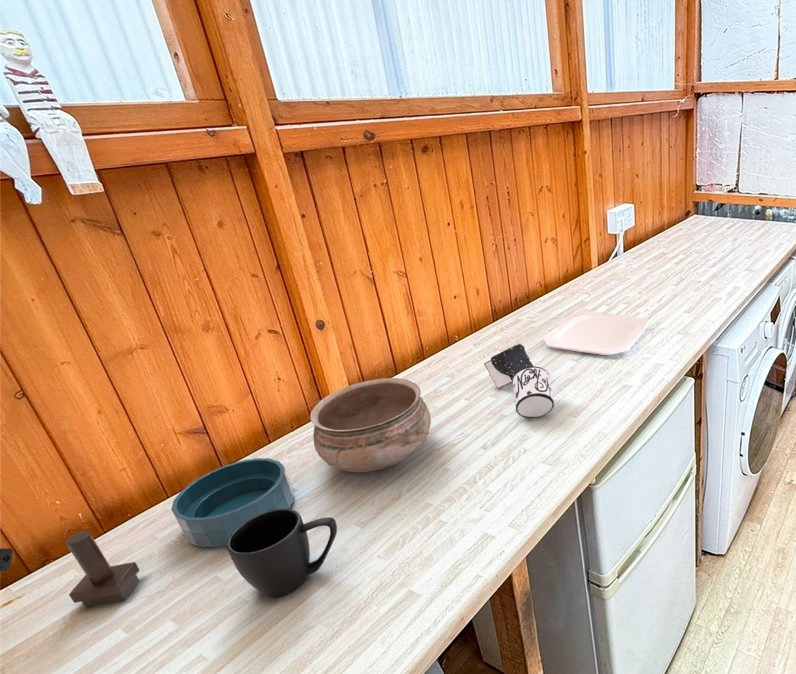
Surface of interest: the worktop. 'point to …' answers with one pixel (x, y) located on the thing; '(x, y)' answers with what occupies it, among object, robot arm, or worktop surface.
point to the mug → (276, 550)
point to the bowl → (230, 499)
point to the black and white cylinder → (522, 381)
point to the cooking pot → (370, 424)
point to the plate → (596, 333)
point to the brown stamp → (99, 574)
